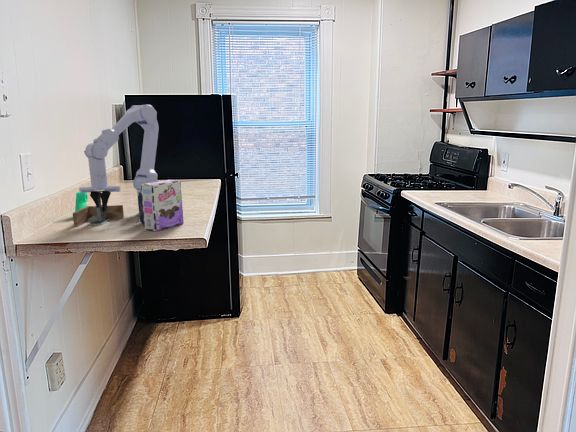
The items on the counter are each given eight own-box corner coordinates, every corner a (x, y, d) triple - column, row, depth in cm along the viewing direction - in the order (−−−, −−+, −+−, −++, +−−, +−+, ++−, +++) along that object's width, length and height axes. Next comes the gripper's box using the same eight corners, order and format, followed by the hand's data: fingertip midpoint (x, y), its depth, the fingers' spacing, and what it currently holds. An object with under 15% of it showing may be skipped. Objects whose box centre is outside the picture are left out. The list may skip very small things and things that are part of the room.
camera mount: (95, 218, 180) (92, 193, 178) (75, 219, 179) (72, 194, 177) (103, 212, 192) (100, 189, 189) (84, 213, 190) (81, 189, 188)
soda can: (139, 222, 170) (136, 191, 168) (157, 220, 173) (155, 189, 170) (141, 226, 164) (138, 193, 161) (160, 224, 167) (157, 192, 164)
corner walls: (124, 217, 179) (122, 204, 178) (112, 225, 166) (111, 211, 165) (88, 218, 179) (86, 206, 177) (74, 227, 165) (72, 213, 164)
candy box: (155, 231, 155) (151, 184, 151) (144, 230, 158) (139, 183, 154) (184, 223, 166) (181, 179, 163) (173, 222, 169) (169, 179, 166)
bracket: (101, 220, 167) (99, 207, 166) (88, 221, 167) (86, 208, 166) (108, 216, 175) (106, 203, 174) (95, 216, 175) (94, 204, 174)
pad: (102, 224, 168) (102, 224, 167) (87, 225, 167) (87, 224, 167) (109, 219, 176) (109, 219, 176) (95, 220, 176) (95, 219, 176)
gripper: (74, 177, 164) (78, 213, 166) (114, 176, 164) (118, 212, 167) (81, 175, 170) (85, 209, 173) (120, 173, 171) (124, 208, 174)
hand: (102, 210), depth 171 cm, fingers closed on bracket
